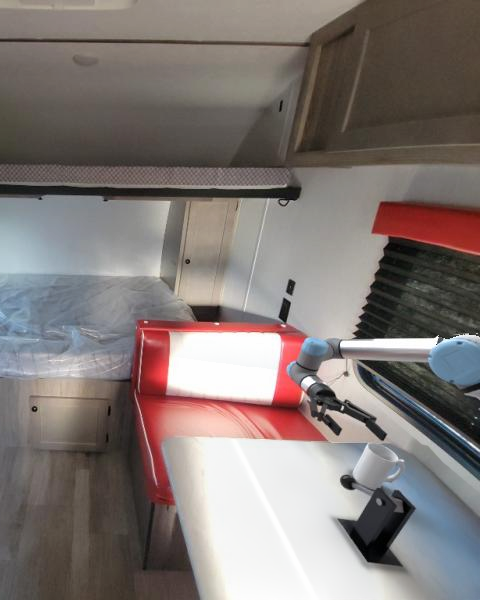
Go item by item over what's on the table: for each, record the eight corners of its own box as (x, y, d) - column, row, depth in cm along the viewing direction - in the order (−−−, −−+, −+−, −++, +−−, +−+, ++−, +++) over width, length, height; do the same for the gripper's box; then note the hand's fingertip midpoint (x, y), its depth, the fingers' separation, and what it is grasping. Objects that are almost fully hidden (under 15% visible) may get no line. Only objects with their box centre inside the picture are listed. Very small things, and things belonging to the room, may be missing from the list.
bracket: (335, 521, 84) (361, 476, 78) (367, 525, 83) (395, 480, 78) (364, 565, 74) (396, 517, 68) (400, 570, 74) (435, 522, 68)
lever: (336, 486, 87) (336, 471, 88) (350, 487, 87) (349, 473, 88) (390, 514, 72) (389, 496, 73) (406, 516, 72) (406, 498, 73)
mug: (356, 489, 94) (374, 457, 89) (345, 470, 100) (362, 439, 95) (398, 501, 91) (418, 469, 87) (384, 481, 97) (403, 450, 93)
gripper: (348, 403, 121) (397, 449, 102) (280, 396, 122) (316, 439, 102) (356, 386, 119) (408, 429, 99) (287, 378, 119) (325, 420, 99)
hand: (361, 434), depth 100 cm, fingers open, 13 cm apart
